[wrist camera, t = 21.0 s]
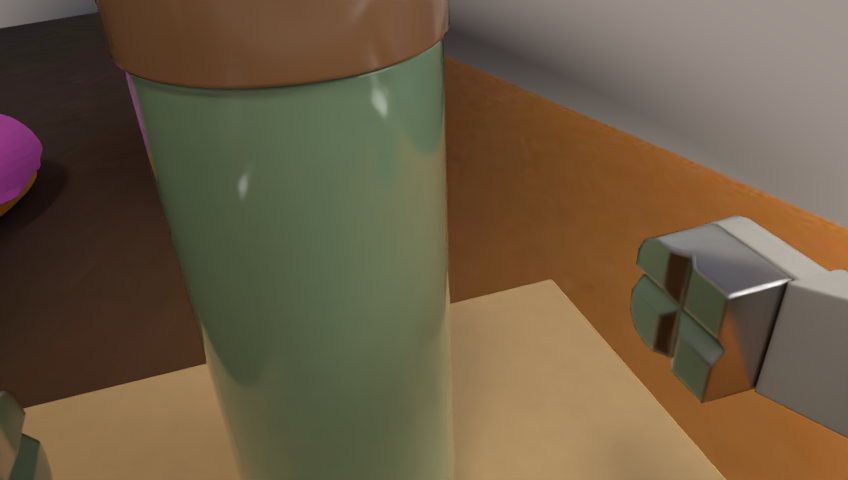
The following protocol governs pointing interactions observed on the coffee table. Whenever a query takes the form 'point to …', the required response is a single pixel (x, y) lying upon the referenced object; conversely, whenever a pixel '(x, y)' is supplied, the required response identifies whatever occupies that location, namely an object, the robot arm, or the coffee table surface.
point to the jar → (306, 220)
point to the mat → (472, 409)
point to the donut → (16, 161)
